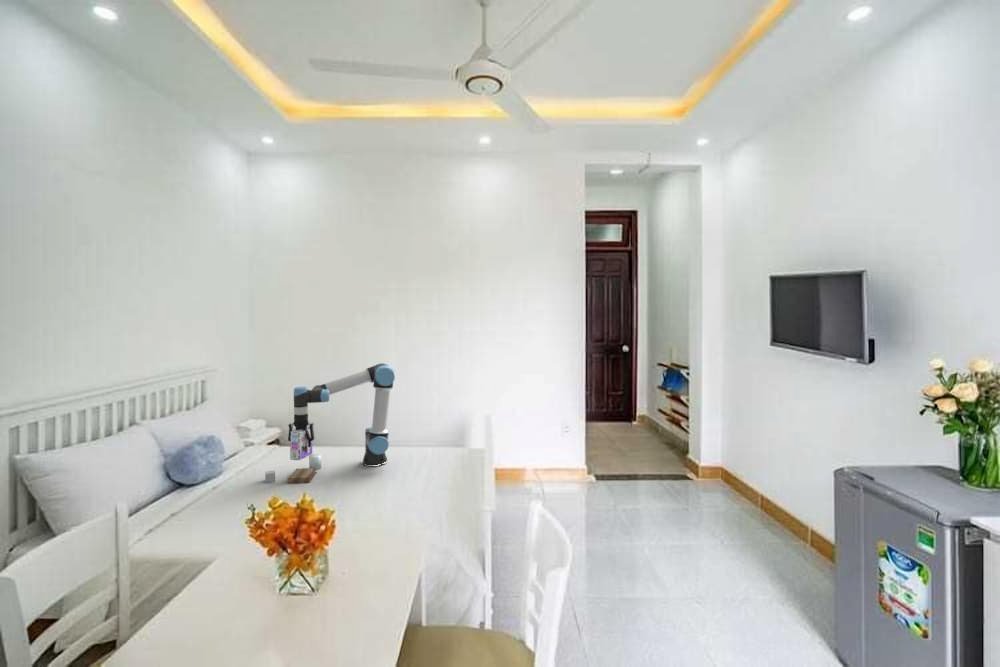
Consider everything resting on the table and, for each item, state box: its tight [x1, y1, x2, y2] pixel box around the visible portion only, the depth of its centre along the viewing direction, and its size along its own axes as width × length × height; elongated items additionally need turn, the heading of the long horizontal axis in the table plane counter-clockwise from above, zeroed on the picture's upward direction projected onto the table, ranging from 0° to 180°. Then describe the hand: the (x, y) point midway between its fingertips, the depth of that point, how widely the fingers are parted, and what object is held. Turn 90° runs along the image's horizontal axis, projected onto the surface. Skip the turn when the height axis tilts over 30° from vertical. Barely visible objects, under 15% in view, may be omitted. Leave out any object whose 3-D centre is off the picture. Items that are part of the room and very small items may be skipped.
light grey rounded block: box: [308, 453, 322, 471], centre depth 314 cm, size 7×7×8 cm
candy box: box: [289, 426, 313, 461], centre depth 296 cm, size 14×6×16 cm, turn 169°
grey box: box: [264, 470, 276, 484], centre depth 293 cm, size 5×5×5 cm
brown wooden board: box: [286, 467, 318, 484], centre depth 297 cm, size 12×17×3 cm
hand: (301, 452), depth 296 cm, fingers closed on candy box, 7 cm apart
